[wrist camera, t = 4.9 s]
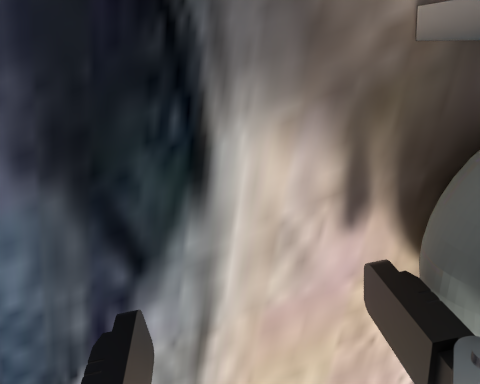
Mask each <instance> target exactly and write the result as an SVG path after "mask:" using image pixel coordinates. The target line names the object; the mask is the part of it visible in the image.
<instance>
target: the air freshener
mask: <svg viewBox="0 0 480 384" xmlns="http://www.w3.org/2000/svg"><path fill="white" fill-rule="evenodd" d="M419 271H420V279H421V280H422V281H423V282H424V283H425V284H426V285H427V286H428V287H429V288H430V289H431V292H434V293H435V294H436V295H437V297H438V298H439V299H440V301H442V302H443V303H444V304H445V305H446V306H447V307H448V308H449V309H450V310H451V311H452V312H453V313H454V314H455V315H456V316H457V317H458V318H459V319H460V320H461V321H462V322H463V323H464V324H465V325H466V326H467V327H468V329H469V330H470V331H471V332H472V333H473V334H474V335H475V336H479V337H480V150H479V151H478V152H477V153H476V154H475V155H473V156H472V157H471V158H470V159H469V160H468V161H467V163H466V164H465V165H464V166H463V167H462V168H461V169H460V171H459V172H458V173H457V174H456V175H455V176H454V177H453V179H452V180H451V182H450V183H449V185H448V186H447V188H446V189H445V191H444V192H443V194H442V195H441V196H440V198H439V200H438V202H437V204H436V206H435V208H434V210H433V212H432V214H431V216H430V218H429V221H428V224H427V227H426V230H425V233H424V236H423V240H422V246H421V253H420V259H419Z"/></svg>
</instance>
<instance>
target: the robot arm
mask: <svg viewBox="0 0 480 384" xmlns="http://www.w3.org/2000/svg"><path fill="white" fill-rule="evenodd" d="M364 301H365V305H366V308H367V311H368V313H369V315H370V316H371V318H372V319H373V321H374V322H375V324H376V325H377V327H378V328H379V330H380V332H381V333H382V335H383V336H384V338H385V339H386V341H387V342H388V344H389V345H390V347H391V348H392V350H393V351H394V353H395V354H396V356H397V358H398V359H399V361H400V362H401V364H402V365H403V367H404V368H405V370H406V371H407V373H408V374H409V376H410V377H411V379H412V380H413V382H414V383H415V384H480V337H479V336H475V335H474V334H473V333H472V332H471V331H470V330H469V329H468V327H467V326H466V325H465V324H464V323H463V322H462V321H461V320H460V319H459V318H458V317H457V316H456V315H455V314H454V313H453V312H452V311H451V310H450V309H449V308H448V307H447V306H446V305H445V304H444V303H443V302H442V301H440V299H439V298H438V297H437V295H436V294H435V293H434V292H431V289H430V288H429V287H428V286H427V285H426V284H425V283H424V282H423V281H422V280H421V279H420V278H418V277H416V276H414V275H413V274H411V273H409V272H407V271H402V272H399V271H398V270H397V269H396V268H395V267H394V266H393V264H392V263H391V262H390V261H388V260H381V261H376V262H371V263H367V264H365V266H364ZM153 364H154V348H153V343H152V339H151V337H150V334H149V331H148V328H147V325H146V322H145V319H144V317H143V314H142V312H141V310H135V311H130V312H126V313H121V314H118V315H117V316H116V318H115V322H114V326H113V329H112V332H107V333H103V334H102V335H101V337H100V338H99V339H98V341H97V342H96V343H95V345H94V346H93V347H92V351H91V354H90V357H89V360H88V365H87V366H86V369H85V372H84V377H83V379H82V382H81V384H151V382H152V373H153Z"/></svg>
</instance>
